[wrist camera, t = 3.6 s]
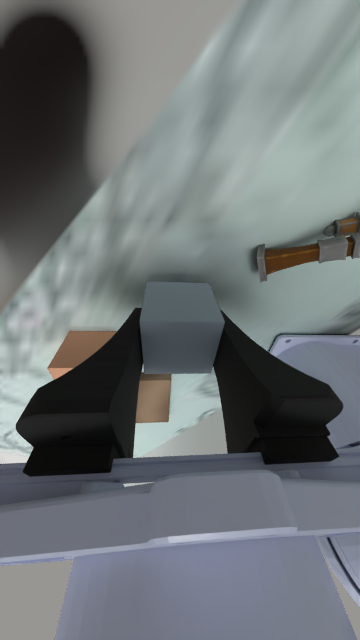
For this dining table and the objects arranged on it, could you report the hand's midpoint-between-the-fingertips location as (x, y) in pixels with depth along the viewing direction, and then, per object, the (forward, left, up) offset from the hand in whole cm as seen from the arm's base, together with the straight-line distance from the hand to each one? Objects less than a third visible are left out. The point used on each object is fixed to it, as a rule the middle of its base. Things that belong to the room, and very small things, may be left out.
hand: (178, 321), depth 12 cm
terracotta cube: (+7, +6, -4) cm, 10 cm away
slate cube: (0, 0, -2) cm, 2 cm away
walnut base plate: (+5, +15, -3) cm, 16 cm away
